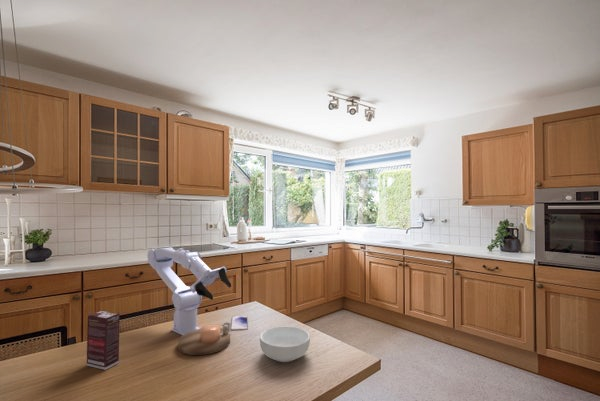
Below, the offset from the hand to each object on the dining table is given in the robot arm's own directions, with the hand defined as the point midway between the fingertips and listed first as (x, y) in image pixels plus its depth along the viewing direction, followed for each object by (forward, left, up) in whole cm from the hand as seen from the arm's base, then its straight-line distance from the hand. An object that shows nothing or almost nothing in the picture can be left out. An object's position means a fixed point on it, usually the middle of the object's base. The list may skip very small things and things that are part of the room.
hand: (221, 291), depth 106 cm
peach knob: (-3, -2, -17) cm, 18 cm away
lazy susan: (-6, -2, -20) cm, 21 cm away
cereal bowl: (+23, +9, -20) cm, 32 cm away
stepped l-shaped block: (-8, +9, -20) cm, 23 cm away
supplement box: (-20, -30, -20) cm, 42 cm away
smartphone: (-11, +19, -20) cm, 30 cm away
